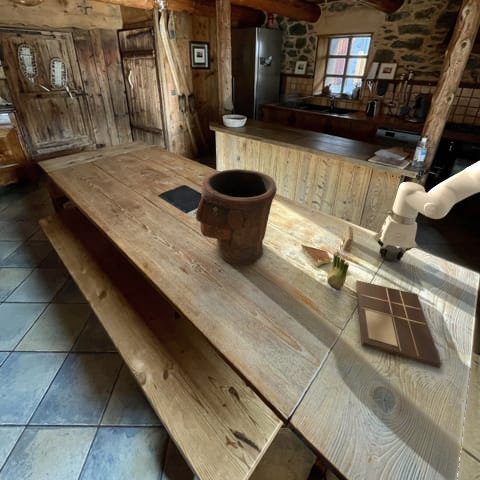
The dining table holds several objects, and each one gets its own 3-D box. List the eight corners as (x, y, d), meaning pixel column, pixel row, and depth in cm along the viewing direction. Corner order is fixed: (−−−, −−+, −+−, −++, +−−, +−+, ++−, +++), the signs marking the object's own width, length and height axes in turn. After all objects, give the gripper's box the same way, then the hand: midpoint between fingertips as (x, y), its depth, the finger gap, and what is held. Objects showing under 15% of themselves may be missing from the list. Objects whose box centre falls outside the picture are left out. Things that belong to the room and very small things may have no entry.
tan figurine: (337, 253, 103) (337, 235, 113) (348, 258, 102) (347, 238, 112) (344, 240, 99) (343, 222, 109) (356, 244, 98) (354, 226, 109)
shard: (300, 247, 106) (301, 244, 105) (316, 243, 108) (317, 240, 107) (316, 266, 96) (316, 263, 96) (333, 262, 99) (334, 258, 98)
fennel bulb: (344, 291, 87) (351, 264, 81) (329, 292, 86) (336, 264, 81) (338, 278, 92) (344, 251, 87) (324, 278, 92) (329, 251, 86)
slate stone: (395, 254, 102) (398, 246, 100) (398, 262, 98) (401, 254, 96) (381, 251, 103) (384, 243, 102) (383, 260, 99) (386, 251, 98)
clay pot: (188, 242, 107) (182, 175, 94) (251, 223, 119) (253, 162, 106) (211, 288, 87) (208, 211, 74) (284, 260, 99) (292, 189, 86)
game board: (415, 297, 85) (417, 293, 84) (439, 368, 66) (441, 364, 65) (355, 283, 90) (356, 279, 89) (362, 345, 71) (363, 341, 70)
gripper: (378, 218, 92) (366, 258, 100) (434, 227, 87) (417, 268, 95) (375, 207, 98) (364, 245, 106) (427, 215, 94) (412, 255, 102)
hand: (390, 256), depth 101 cm, fingers closed on slate stone, 4 cm apart
